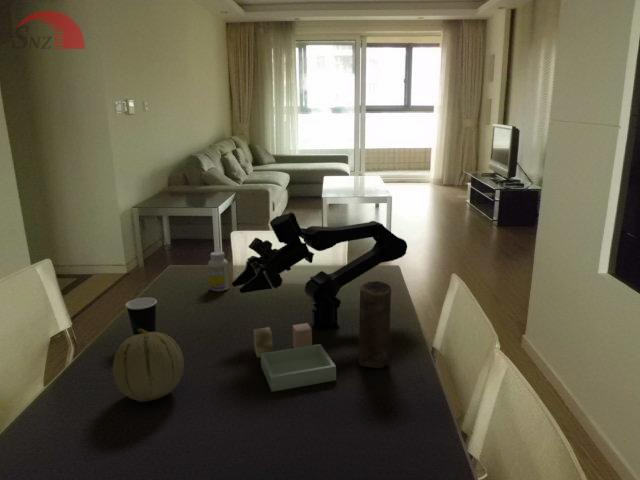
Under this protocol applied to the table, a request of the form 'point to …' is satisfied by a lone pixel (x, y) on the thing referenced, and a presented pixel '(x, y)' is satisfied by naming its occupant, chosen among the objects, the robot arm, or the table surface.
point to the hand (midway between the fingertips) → (236, 288)
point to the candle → (374, 324)
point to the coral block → (302, 335)
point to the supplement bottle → (218, 272)
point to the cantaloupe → (148, 366)
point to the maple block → (263, 341)
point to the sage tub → (297, 367)
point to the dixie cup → (142, 314)
